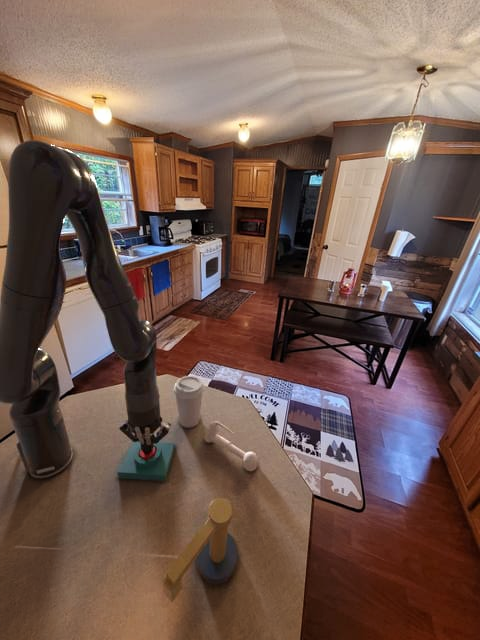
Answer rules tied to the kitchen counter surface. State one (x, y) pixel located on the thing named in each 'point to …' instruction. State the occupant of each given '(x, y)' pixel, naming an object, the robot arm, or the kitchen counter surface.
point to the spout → (197, 546)
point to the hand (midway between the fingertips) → (148, 451)
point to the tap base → (218, 558)
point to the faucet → (230, 445)
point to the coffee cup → (189, 400)
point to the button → (147, 456)
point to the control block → (147, 462)
